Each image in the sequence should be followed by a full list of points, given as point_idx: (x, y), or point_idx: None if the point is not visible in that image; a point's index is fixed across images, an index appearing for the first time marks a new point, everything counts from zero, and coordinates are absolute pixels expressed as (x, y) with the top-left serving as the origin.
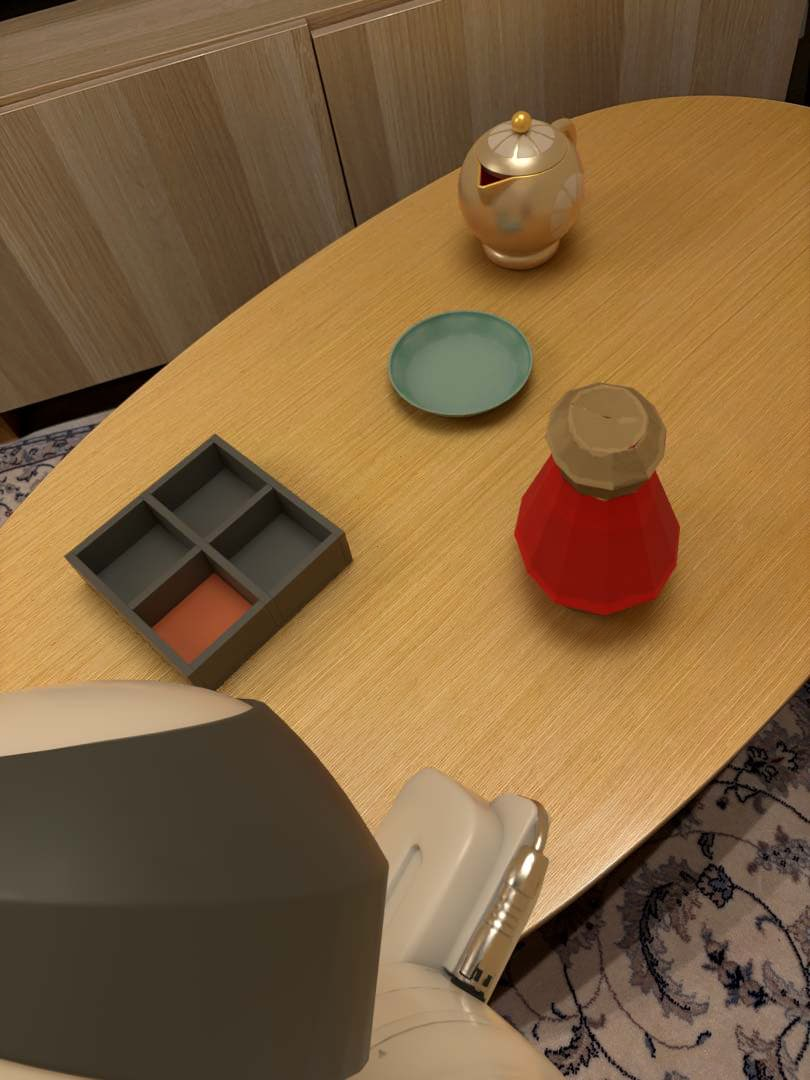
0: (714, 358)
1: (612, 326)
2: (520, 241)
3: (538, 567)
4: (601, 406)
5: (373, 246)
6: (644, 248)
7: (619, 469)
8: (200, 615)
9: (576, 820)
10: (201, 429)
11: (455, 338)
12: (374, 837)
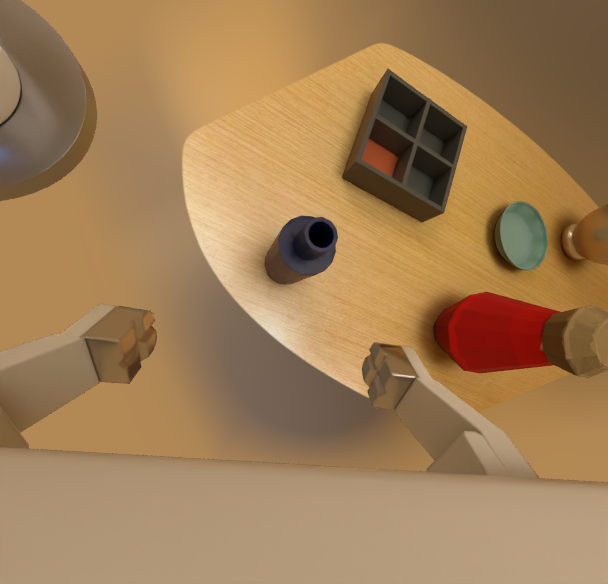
0: None
1: (549, 296)
2: (592, 243)
3: (464, 314)
4: None
5: (555, 173)
6: (583, 297)
7: (583, 360)
8: (378, 158)
9: (353, 364)
10: None
11: (527, 229)
12: (605, 504)
